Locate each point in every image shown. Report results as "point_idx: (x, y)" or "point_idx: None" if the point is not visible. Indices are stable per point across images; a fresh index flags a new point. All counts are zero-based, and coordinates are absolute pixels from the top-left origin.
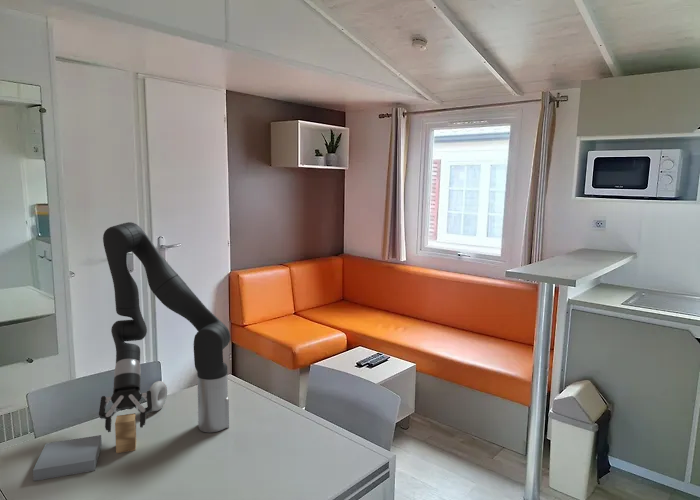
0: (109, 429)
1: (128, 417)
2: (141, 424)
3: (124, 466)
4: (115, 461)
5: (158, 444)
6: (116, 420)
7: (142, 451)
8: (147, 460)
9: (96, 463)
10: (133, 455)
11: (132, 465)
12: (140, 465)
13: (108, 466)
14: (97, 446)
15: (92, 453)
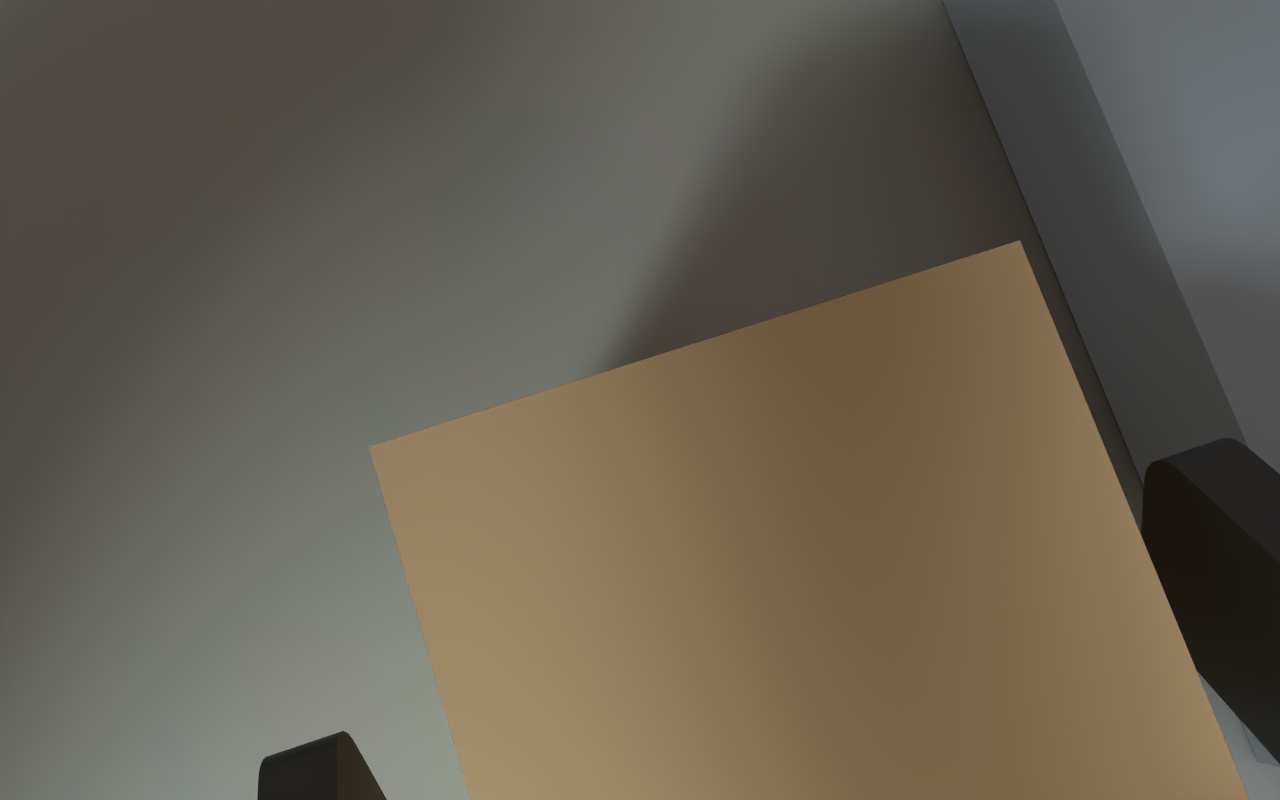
0: (1172, 458)
1: (726, 753)
2: (292, 756)
3: (486, 28)
4: (703, 175)
5: (103, 757)
6: (1088, 477)
7: (344, 491)
8: (154, 190)
9: (987, 96)
10: (463, 356)
11: (363, 51)
12: (228, 48)
13: (751, 35)
14: (1184, 273)
15: (1131, 14)
